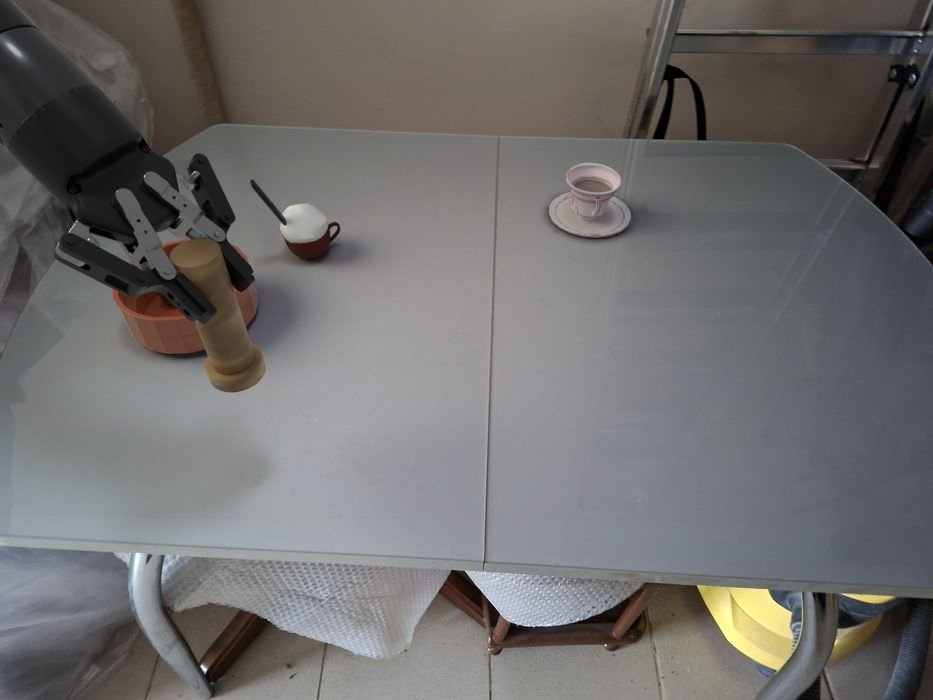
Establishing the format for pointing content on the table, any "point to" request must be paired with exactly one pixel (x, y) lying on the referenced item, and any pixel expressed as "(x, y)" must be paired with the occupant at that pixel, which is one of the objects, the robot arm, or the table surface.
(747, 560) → the table surface
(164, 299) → the bead
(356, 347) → the table surface
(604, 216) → the teacup
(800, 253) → the table surface
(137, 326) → the bowl
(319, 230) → the cocoa
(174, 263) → the wooden flanged peg
